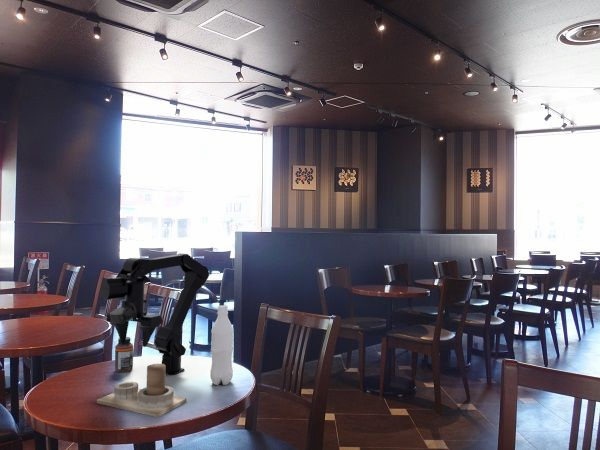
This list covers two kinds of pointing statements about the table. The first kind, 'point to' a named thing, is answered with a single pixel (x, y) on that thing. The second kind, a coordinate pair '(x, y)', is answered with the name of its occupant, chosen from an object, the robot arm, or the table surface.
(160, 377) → the walnut peg
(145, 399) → the two-ring peg board
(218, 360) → the water bottle
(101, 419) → the table surface
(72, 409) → the table surface
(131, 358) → the supplement bottle
